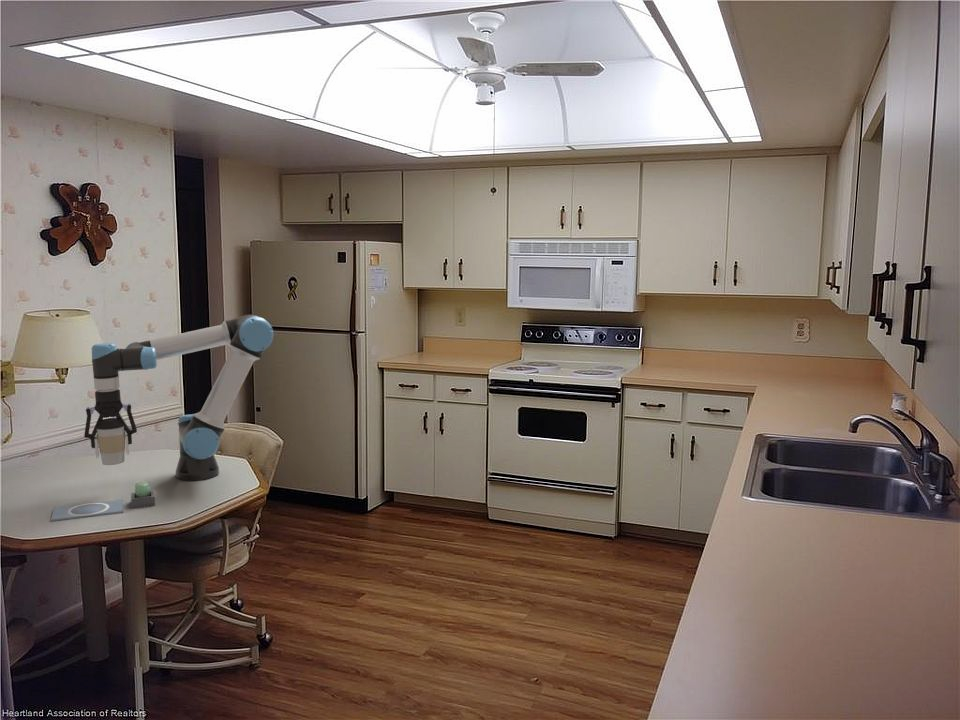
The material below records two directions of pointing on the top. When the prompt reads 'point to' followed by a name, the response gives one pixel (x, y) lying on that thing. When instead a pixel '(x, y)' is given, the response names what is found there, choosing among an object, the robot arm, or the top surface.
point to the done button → (142, 489)
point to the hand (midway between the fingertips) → (112, 455)
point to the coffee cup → (111, 441)
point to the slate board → (87, 510)
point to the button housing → (142, 500)
